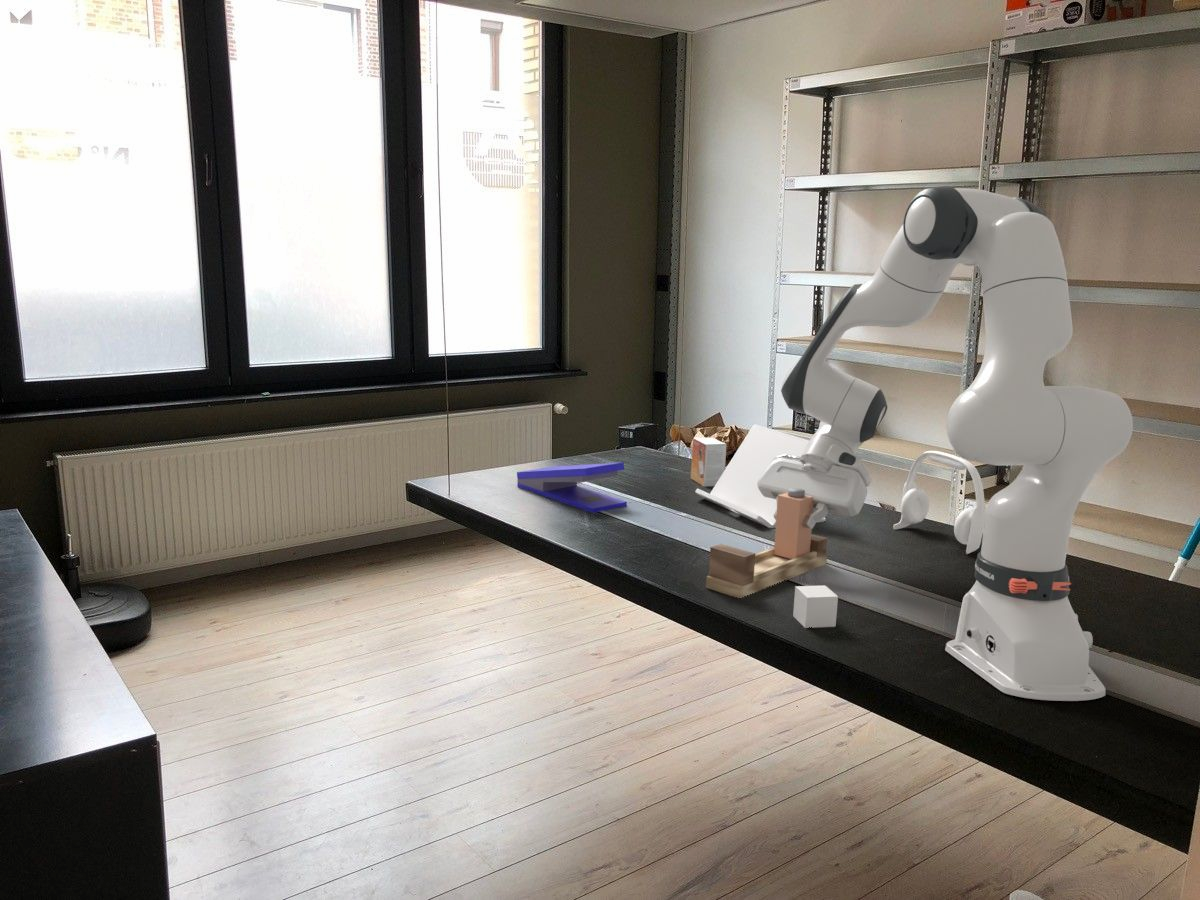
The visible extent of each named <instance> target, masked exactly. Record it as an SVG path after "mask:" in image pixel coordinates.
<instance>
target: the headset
mask: <svg viewBox="0 0 1200 900" xmlns="http://www.w3.org/2000/svg"><path fill="white" fill-rule="evenodd" d="M926 458H928V459H929V460H930V461H932V462H935V463H939V464H943V465H946V466H949V467H952V468H955V469H957V470H960V471H964V470H967V471H968V473H969V474H970V477H971V478H972V482H973V486H974V494H975V507H972V506H970V507H967V508H965V509H964V510H962V511H961V512H960V513H959V514H958V516H957V518H956V519H955V522H954V526H953V532H954V537H955V539H956V540H957V541H958V542H959V543H960V544H962V545H966V549H965V554H966V555H968V554H971V553H973V552H975V551H977V550H978V549H979V548H980V546H981V545H982V538H983V530H984V521H985V513H986V507H987V506H986V503H985V502H986V501H985V493H984V487H983V482H982V478H981V475H980V473H979V471H978V469H977V468H976V466H975V465H973V464H972V463H971V462H970V461H969V460H966V459H963V458H962V457H960V456H957V455H955V454H950V453H946V452H943V451H939V450H928V451H924V452H923V453H921V454H918V456H917V457H916V458H915V460H914V461H913V463H912V465H911V468H910V469H909V473H908V476H907V479H906V481H905V483H904V485H903V489H902V499H901V505H900V511H901V516H900V521H899V522H898V523H895V524H893V527H892V528H893V530H899V529H904V528H906V527H908V526H910V525H913V524H914V525H915V524H920V523H922V522H923V520H925V518H926V517H927V515H928V513H929V509H930V500H929V499H930V498H929V497H928V496H929V495H928V494H927V493H926V492H925V490H923V489H921V488H919V487H917V484H916V483H915V480H916V477H917V474H918V471H919V469H920V466H921V464H922V462H924V460H925V459H926Z"/></svg>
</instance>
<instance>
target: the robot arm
mask: <svg viewBox="0 0 1200 900" xmlns="http://www.w3.org/2000/svg"><path fill="white" fill-rule="evenodd" d="M903 217H904V218H903V223H902V225H901V227H899V229H898V231H897V233H896V234H895V235H894V237H893V239H892V241H891V242H890V244H889V246H888V248H887V250H886V252H885V253H884V255H883V258H882V260H881V262H880V264H879V266H878V269H876V272H875V273H874V274H873V275H872V277H870V278H869V279H868V280H867V281H865V282H864V283H857V284H856V283H855V284H853V285H851V286H850V288H848V289H847V291H845V292H844V294H842V296H841V298H840V299H839V300H838V302H837V303H836V305H835V306H834V307H833V309H832V310H831V312H830V314H829V315H828V316H827V318H826V320H825V321H824V322H823V324H822V325H821V326H820V328H819V330H818V331H817V333H816V334H815V336H814V338H813V339H812V340H811V342H810V343H809V345H808V347H807V348H806V350H805V351H804V353H803V354H802V356H801V357H800V358H799V359H798V360H797V361H796V362H795V363H794V364H793V365H792V366H791V368H790V369H789V370H788V372H787V373H786V375H785V377H784V379H783V381H782V385H781V389H780V391H781V395H782V398H783V400H784V402H785V404H786V406H787V407H788V409H790V410H792V411H794V412H798V413H800V414H804V415H807V416H810V417H811V418H813V419H814V418H815V420H818V421H820V422H819V426H818V429H817V431H816V432H814V434H812V436H811V437H810V439H808V440H809V442H808V444H807V446H806V448H805V449H804V451H803V453H802V455H801V457H799V456H791V455H788V454H783V455H782V456H778V457H775V458H774V459H773V460H772V462H771V464H770V465H769V466H768V467H767V468H766V470H765V471H764V472H763V474H762V475H761V477H760V478H759V480H758V482H757V485H758V489H759V490H760V492H761V493H762V495H763V496H764V497H768V498H772V499H776V504H777V503H778V495H781V494H784V493H788V489H790V488H798V489H803V490H805V495H808V496H812V501H814V505H813V509H816V510H815V511H813V513H812V514H811V515H810V516H809V515H806V516H805V519H804V520H803V522H802V524H803V525H804V527H806V528H809V529H812V530H813V529H814V527H815V526H816V524H817V523H819V522H818V521H819V520H821V519H822V518H824V517H825V518H826V517H827V515H828V513H832V514H837V515H840V516H844V517H850V518H853V517H855V516H856V515H858V514H859V513H860V512H861V511H862V508H863V506H864V504H865V501H866V499H867V497H868V489H867V487H869V486H870V484H871V482H872V477H871V474H870V472H869V469H868V467H867V466H866V464H865V463H864V461H863V460H862V458H861V457H859V456H857V450H858V449H859V448H860V447H861V446H862V445H863V443H865V442H866V441H869V440H870V439H873V437H874V436H875V433H876V431H877V429H878V427H879V426H880V424H881V422H883V419H884V417H885V415H886V414H887V411H888V403H887V399H886V397H885V395H884V392H883V391H882V389H880V388H879V387H877V386H876V385H874V384H871V383H869V382H867V381H865V380H862V379H861V378H858V377H856V376H853V375H851V374H849V373H846V372H844V371H842V370H840V369H837V368H835V367H834V366H831V365H830V364H829V363H828V362H827V359H828V357H829V356H830V354H831V353H832V352H833V350H834V349H835V347H836V345H837V344H838V343H839V342H840V340H841V338H842V337H843V335H845V333H846V332H847V331H848V330H850V329H852V328H858V327H880V328H902V327H908V326H909V327H910V326H912V325H915V324H917V323H919V322H922V321H923V320H924V319H926V318H927V317H928V316H930V314H931V313H932V312H933V310H934V309H935V307H936V305H937V304H938V302H939V300H940V299H941V297H942V295H943V293H944V291H945V289H946V287H947V285H948V283H949V280H950V278H951V276H952V274H953V272H954V270H955V268H956V267H957V266H958V265H959V264H962V265H964V266H968V267H979V270H980V271H979V272H980V275H981V290H982V292H981V293H982V301H983V311H984V313H983V315H984V334H985V347H984V353H983V359H982V361H981V366H980V368H979V370H978V373H977V375H976V377H975V378H974V380H973V381H972V383H971V384H970V385H969V386H968V388H966V389H965V390H964V391H963V392H962V393H960V394H959V395H958V396H957V398H956V399H955V400H954V401H953V403H952V405H951V407H950V409H948V410H949V411H948V414H947V417H946V435H947V438H948V441H949V443H950V445H951V447H952V448H953V450H954V451H955V452H956V455H958V457H960V458H962V459H965V460H967V461H969V462H970V461H971V462H975V463H980V464H985V465H990V466H1003V467H1004V466H1023V467H1022V469H1021V470H1020V472H1019V474H1018V475H1017V477H1015V479H1014V480H1013V481H1012V482H1011V483H1010V484H1009V485H1007V486H1006V487H1005V488H1003V489H1001V490H999V491H998V492H996V493H995V494H993V496H991V498H990V499H989V500H988V502H987V505H986V506H985V507H986V513H985V521H984V529H983V534H982V539H981V548H980V549H981V550H980V551H979V552H978V553H977V557H976V560H975V564H974V578H975V580H976V581H975V583H974V584H973V586H972V587H971V588H970V590H968V591H967V592H966V593H965V595H964V596H963V597H962V602H961V608H960V611H959V618H958V623H957V627H956V631H955V638H954V639H952V640H948V641H947V642H946V643H945V649H944V650H945V652H947V653H948V654H950V656H952V657H953V658H955V659H956V660H957V661H959V662H961V663H962V664H963V665H965V666H966V667H967V668H968V669H970V670H971V671H973V672H974V673H975V674H976V675H978V676H980V677H981V678H982V679H984V681H986V682H988V683H989V684H990V685H992V686H993V687H994V688H996V689H997V690H999V691H1000V692H1002V693H1003V694H1006V695H1009V696H1012V697H1013V696H1015V697H1019V698H1024V699H1029V700H1031V699H1032V700H1040V701H1054V702H1055V701H1056V702H1057V701H1058V702H1059V701H1060V702H1061V701H1062V702H1079V701H1080V702H1081V701H1091V700H1096V699H1100V698H1103V697H1105V696H1106V687H1105V686H1104V684H1103V683H1102V682H1101V680H1100V679H1099V677H1098V676H1097V675H1096V674H1095V672H1094V671H1093V669H1092V668H1091V666H1090V665H1089V664H1090V663H1089V661H1090V649H1091V648H1092V646H1093V642H1094V641H1093V640H1094V639H1093V638H1094V637H1093V635H1092V632H1090V631H1085V630H1083V629H1082V627H1081V625H1080V623H1079V616H1078V614H1077V613H1075V611H1074V609H1073V607H1072V604H1071V603H1070V599H1069V597H1068V596H1069V595H1070V591H1071V588H1070V585H1072V582H1070V575H1069V570H1068V568H1069V567H1068V565H1067V564H1066V558H1067V552H1068V546H1069V540H1070V536H1071V530H1072V526H1073V525H1072V524H1073V520H1074V516H1075V512H1076V509H1077V507H1078V505H1079V503H1080V501H1081V500H1082V497H1083V495H1084V493H1085V491H1086V490H1087V489H1088V486H1089V485H1090V483H1091V482H1092V481H1093V479H1094V478H1095V477H1096V476H1097V474H1098V473H1100V471H1101V470H1102V469H1103V468H1104V467H1105V466H1106V465H1107V464H1108V463H1110V462H1111V461H1113V460H1114V459H1116V458H1117V457H1118V456H1120V455H1121V454H1122V453H1123V452H1124V451H1125V450H1126V448H1127V446H1128V445H1129V443H1130V440H1131V438H1132V434H1133V429H1134V428H1133V427H1134V423H1133V416H1132V412H1131V410H1130V408H1129V406H1128V403H1127V402H1126V401H1125V400H1124V399H1123V398H1122V397H1121V396H1120V395H1119V394H1117V393H1115V392H1111V391H1107V390H1102V389H1099V388H1094V387H1090V386H1085V385H1045V382H1044V374H1045V373H1044V371H1045V366H1046V364H1047V361H1048V360H1050V359H1052V358H1055V356H1057V355H1058V354H1060V353H1061V352H1063V350H1064V349H1065V348H1066V347H1068V345H1069V343H1070V341H1071V339H1072V336H1073V332H1074V327H1073V320H1072V311H1071V310H1072V309H1071V302H1070V301H1071V300H1070V293H1069V284H1068V276H1067V269H1066V264H1065V259H1064V255H1063V251H1062V247H1061V244H1060V240H1059V238H1058V234H1057V232H1056V229H1055V226H1054V224H1053V222H1052V221H1051V220H1050V219H1049V217H1047V216H1046V215H1045V213H1044V212H1043V211H1042V209H1041V208H1040V207H1039V206H1037V205H1036V204H1035V203H1033V202H1031V201H1029V200H1026V199H1024V198H1021V197H1017V196H1015V197H1014V196H1012V197H1010V196H1008V195H1005V194H1000V193H995V192H990V191H988V190H985V189H978V188H968V187H966V188H965V187H959V188H958V187H952V186H950V185H944V186H943V185H942V186H941V185H940V186H933V187H929V188H926V189H923V190H921V191H919V192H918V193H917V194H916V195H915V196H914V197H913V198H912V199H911V201H910V202H909V204H908V207H907V208H906V211H905V213H904V216H903ZM776 517H777V509H776V511H775V513H774V518H775V520H776ZM816 522H817V523H816Z"/></svg>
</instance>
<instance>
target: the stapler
mask: <svg viewBox="0 0 1200 900" xmlns="http://www.w3.org/2000/svg"><path fill="white" fill-rule="evenodd" d="M624 464H625V463H624V462H607V463H593V464H591V463H589V464H575V465H558V466H556V465H555V466H549V467H543V468H542V467H541V468H536V469H529V470H523V471H516V477H517V484H516V485H517V486H516V487H518V488H521V489H523V490H526V491H529V492H532V493H535V494H537V495H541V496H544V497H546V498H549V499H552V500H554V501H557V502H561V503H563V504H566V505H569V506H572V507H575V508H578V509H580V510H583V511H586V512H589V513H592V514H593V513H599V512H603V511H609V510H614V509H618V508H624V507H627V506H628V505H627V504H628V501H625V500H623V499H620V498H617V497H613V496H611V495H607V494H603V493H601V492H598V491H595V490H592V489H588V488H585V487H584V486H583V487H582V486H579V485H578V483H580V482H581V483H582V482H588V481H589V482H590V481H594V480H601V479H607V478H608V479H609V478H614V477H618V475H619V474H618V472H619V471H624V470H625V465H624Z"/></svg>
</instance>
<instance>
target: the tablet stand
mask: <svg viewBox="0 0 1200 900" xmlns="http://www.w3.org/2000/svg"><path fill="white" fill-rule="evenodd" d="M809 440H810V439H806V438H803V437H799V436H796V435H793V434H788V433H786V432H783V431H782V432H781V431H779V430H776V429H772V428H770V427H766V426H762V425H760V424H756V423H755V424H753V425H752V427H750V429H749V431H748V433H747V434H746V436H745V438H744V439H743V440H742V442H741V444H740V445H739V446H738V448H737V450H736V452H735V453H734V455H733V457H732V458H731V460H729V463H728V464H727V465H726V466H725V471H724V472H723V474H722V475H721V477H720V479H719V480H718V482H717V483H716V485H715V486H713V487H712V490H711V491H710V493H709V492H706V491H704V490H702V489H700V488H698V487H697V488H696V490H695V493H696V495H698V496H700V497H702V498H703V499H704V500H706V501H709V502H710V503H713V504H716V505H718V506H719V507H722V508H724V509H727V510H729V511H731V512H732V513H735V514H737V515H740V516H742V517H743V518H747V519H749V520H751V521H752V522H755V523H758V524H760V525H762V526H764V527H766V528H768V529H773V528H775V529H776V520H775V518H774V513H775V511H776V509H777V504H776V499H772V498H768V497H764V496H763V495H762V493H761V492H760V490H759V489H758V485H757V482H758V480H759V478H760V477H761V475H762V474H763V472H764V471H765V470H766V468H767V467H768V466H769V465H770V464H771V462H772V460H773V459H774V458H775V457H778V456H782V455H783V454H788V455H791V456H799V457H801V455H802V453H803V451H804V449H805V448H806V446H807V444H808V442H809ZM824 521H825V522H826V516H825V517H824V518H822V519H821V520H819V521H818V522H816V523H815V524H817V523H823V522H824Z"/></svg>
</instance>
